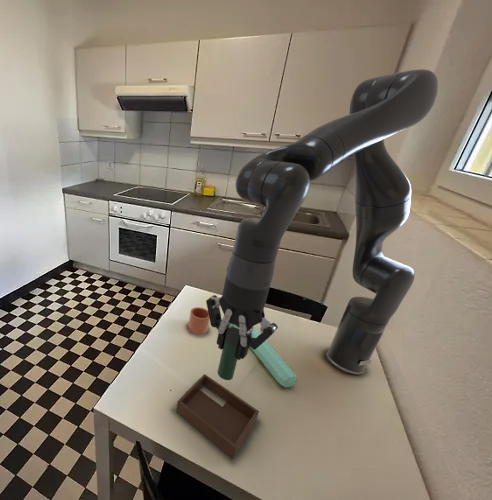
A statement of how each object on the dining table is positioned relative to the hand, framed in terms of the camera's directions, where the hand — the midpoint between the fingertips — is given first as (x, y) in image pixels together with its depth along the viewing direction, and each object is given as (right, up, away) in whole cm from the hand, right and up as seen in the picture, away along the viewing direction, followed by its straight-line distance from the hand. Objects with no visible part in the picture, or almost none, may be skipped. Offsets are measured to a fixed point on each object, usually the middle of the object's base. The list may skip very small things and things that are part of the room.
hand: (230, 351), depth 56 cm
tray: (-1, -18, +7) cm, 19 cm away
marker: (0, -6, +2) cm, 6 cm away
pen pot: (0, -6, +35) cm, 36 cm away
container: (+17, -11, +26) cm, 33 cm away
